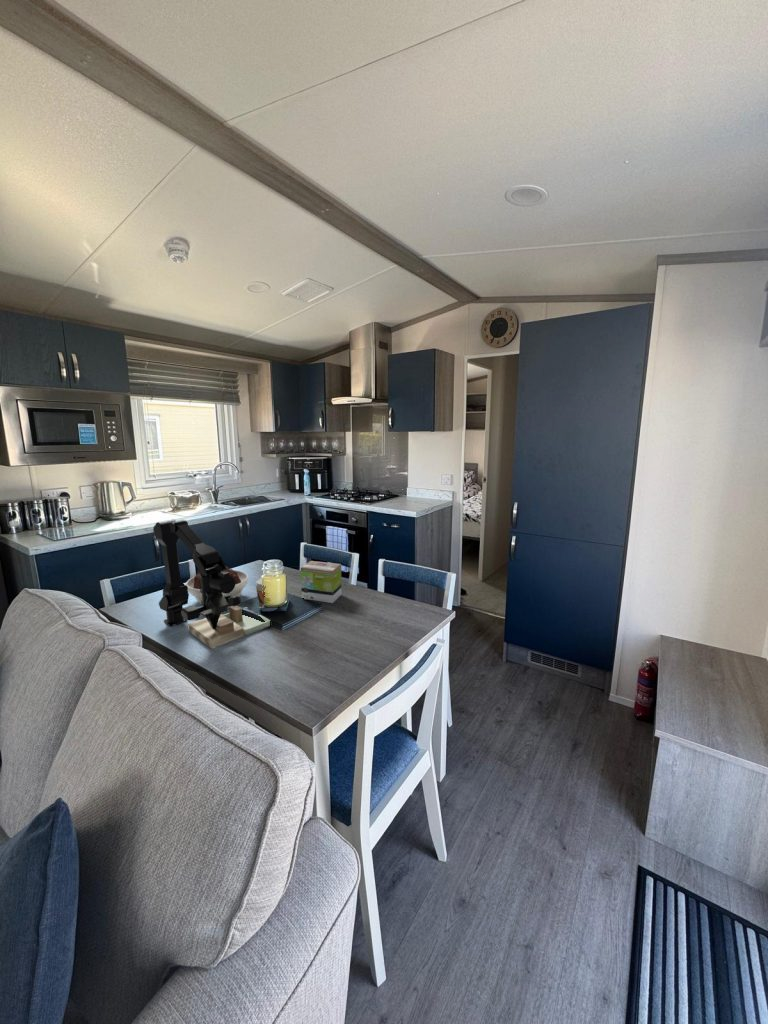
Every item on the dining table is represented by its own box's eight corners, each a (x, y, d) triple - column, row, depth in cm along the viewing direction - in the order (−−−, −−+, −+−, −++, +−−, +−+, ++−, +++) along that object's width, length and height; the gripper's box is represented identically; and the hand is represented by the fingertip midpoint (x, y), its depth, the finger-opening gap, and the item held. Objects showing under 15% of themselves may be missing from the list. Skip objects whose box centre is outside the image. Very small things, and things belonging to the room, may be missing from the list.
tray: (220, 620, 165) (220, 615, 164) (246, 611, 173) (246, 606, 172) (244, 635, 153) (244, 630, 152) (271, 625, 160) (270, 620, 160)
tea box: (301, 599, 184) (299, 567, 181) (311, 591, 193) (310, 560, 190) (333, 603, 180) (332, 570, 177) (342, 594, 189) (341, 563, 186)
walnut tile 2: (213, 628, 152) (213, 622, 151) (227, 623, 155) (226, 617, 155) (220, 633, 148) (219, 626, 148) (233, 628, 152) (233, 621, 151)
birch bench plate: (188, 631, 156) (188, 623, 156) (220, 620, 165) (219, 613, 164) (211, 648, 144) (210, 640, 143) (244, 635, 153) (243, 628, 152)
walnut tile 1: (228, 606, 164) (234, 604, 166) (229, 618, 165) (235, 616, 167) (235, 610, 161) (241, 608, 163) (236, 622, 162) (242, 620, 164)
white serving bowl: (220, 586, 200) (217, 555, 197) (262, 594, 189) (259, 562, 186) (174, 606, 178) (170, 571, 175) (218, 617, 167) (214, 580, 164)
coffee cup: (252, 610, 174) (250, 582, 171) (268, 602, 182) (266, 575, 179) (269, 614, 169) (268, 586, 167) (285, 606, 178) (284, 578, 175)
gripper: (192, 601, 134) (197, 647, 137) (247, 585, 147) (250, 627, 150) (178, 592, 141) (183, 635, 145) (231, 577, 155) (234, 617, 158)
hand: (214, 629), depth 149 cm, fingers closed
